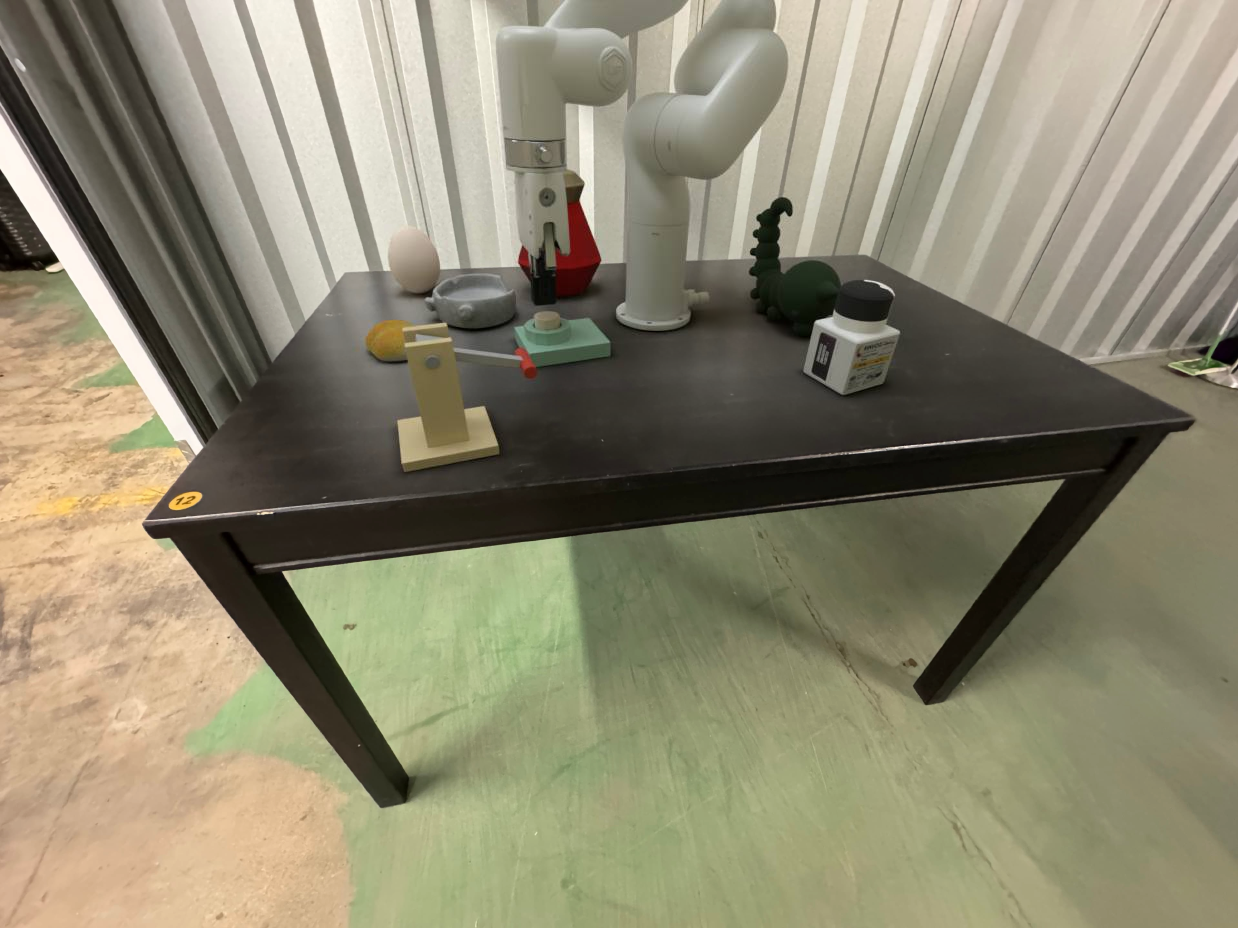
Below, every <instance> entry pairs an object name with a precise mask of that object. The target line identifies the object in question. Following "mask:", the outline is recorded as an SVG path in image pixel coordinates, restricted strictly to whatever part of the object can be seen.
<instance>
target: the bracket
mask: <svg viewBox="0 0 1238 928" xmlns="http://www.w3.org/2000/svg"><path fill="white" fill-rule="evenodd" d="M448 327H449V326H448V324H447V323H445V322H440V323H431V324H430V323H429V324H422V325H414V326H413V327H405V328H402V331H403V336H404V340H405V343H404V345H405V350H406V355H407V359H408V360H407V363H408V367H409V372H410V376H411V380H412V385H413V389H414V394H415V398H416V402H417V406H418V411H419V415H420V416H414V417H410V418H409V417H407V418H402V419H397V430H398V441H399V451H400V461H401V466H402V470H403V473H408V472H413V471H418V470H423V469H429V468H435V467H440V466H444V465H449V464H455V463H456V464H457V463H460V462H465V461H472V460H475V459H481V458H487V457H492V456H497V455H500V446H499V443H498V440H497V438H496V435H495V431H494V429H493V426H492V423H491V420H490V417H489V414H488V412H487V409H486V406H485V405H482V406H476V407H470V408H465V405H464V401H463V400H464V399H463V394H462V389H461V384H460V377H459V372H458V366H457V361H456V359H455V354H454V348H455V347H454V343H453V339H452V337H451V336H450V332H449V328H448ZM416 334H420V335H427V336H434V337H441V338H442V339H434V340H426V341H418V342H415V336H416ZM453 347H454V348H453Z"/></svg>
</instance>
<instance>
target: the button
mask: <svg viewBox="0 0 1238 928" xmlns="http://www.w3.org/2000/svg"><path fill="white" fill-rule="evenodd" d="M559 317H560V314H559V313H558V312H556V311H551V310H543V311H539V312H536V313H535V314H534V316H533V318H534V320H535V328H536V329H539V330H554V329H557V328H559V327H560V318H559Z"/></svg>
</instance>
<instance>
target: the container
mask: <svg viewBox="0 0 1238 928" xmlns="http://www.w3.org/2000/svg"><path fill="white" fill-rule="evenodd" d="M895 297H896V293H895V292H894V290H893V289H892V288H891V287H889V286H888V285H887V284H885V283H882V282H879V281H875V280H869V279H855V280H851V281H846V282H844V283H843V284H841V286H840V289H839V293H838V297H837V300H836V304H835V308H834V312H833V315H832V316H830V317H826V318H824V319H821V320H817V321H815V323H814V327H813V331H812V335H810V340H809V345H808V349H807V352H806V356H805V362H804V366H803V370H802V371H803V373H804V374H805V375H806V376H809V377H810V378H812V379H813V380H816V381H818V382H819V383H820V384H822V385H824V386H826V387H827V388H829V389H831V390H832V391H834V392H836V393H838V394H839V395H841V396H846V395H849V394H853V393H856V392H860V391H862V390H866V389H869V388H874V387H877V386H880V385H883V384H884V383H885V379H886V377H887V374H888V371H889V367H890V364H891V362H892V359H893V355H894V353H895V350H896V347H897V344H898V341H899V338H900V335H901V331H900V330H899V329H898V328H897V329H896V328H894V327H892V326H890V325H887V321H888V318H889V316H890V313H891V309H892V306H893V303H894V299H895Z"/></svg>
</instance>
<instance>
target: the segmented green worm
mask: <svg viewBox="0 0 1238 928" xmlns="http://www.w3.org/2000/svg"><path fill="white" fill-rule="evenodd" d="M793 212H794V207H793V203H792V201H791V199H789V198H788V197H786V196H785V197H784V196H780V197H777V198H775V199H774V200H773V201H772V202H771V203H770V206H769V208H766V209H764V210H763V211H762V212H761V213H758V214H757V215H756V216H755V220H756V222H758V223H759V227H758V228H755V229H754V230H753V231H752V234H751V235H752V237H753V238H755V239H757V242H758V243H757V244H756V246H755V247H751V248H750V250H749V255H750V256H752V257H755V259H756V261H755V262H754V265H753V266H751V267H750V268H749V270H748V274H749V276H751V277H755V278H756V280H755V287H753V288H752V289H751V290H750V293H749V295H750V298H751V299H752V300H760V301H759V302H757V305H756V309H757V312H759V313H761V314H765V313H766V314H767V318H768V319H770V320H772V321H778V320H779V319H781V318H783V316H784V317H786V318H788V319H789V320H791V321H792V322H793V326H792V327H793V331H794V333H795V334H796V335H797V336H801V337H807V336H812V331H813V327H814V323H815V321H817V320H821V319H825V318H829V316H833V312H834V308H835V304H836V300H837V297H838V293H839V289H840V286H842V283H841V279H840V277H839V275H838V273H837V271H836V270H835V269H834V268H833V267H832V266H831V265H830V264H828V263H826V262H824V261H821V260H816V259H810V260H809V259H808V260H806V261H805V260H804V261H800V262H798V263H797V264H794V265H793V266H791V267H790V268H788V270H787V271H786V272H785V273H783V272H782V264H781V260H780V259H779V257H780V254H781V247H780V245H779V243H778V241H780V237H781V229H780V227H779V225H780V223H781V215H782V214H784V213H785V214H786V216H787V217H789V218H790V217H792V216H793Z"/></svg>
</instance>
